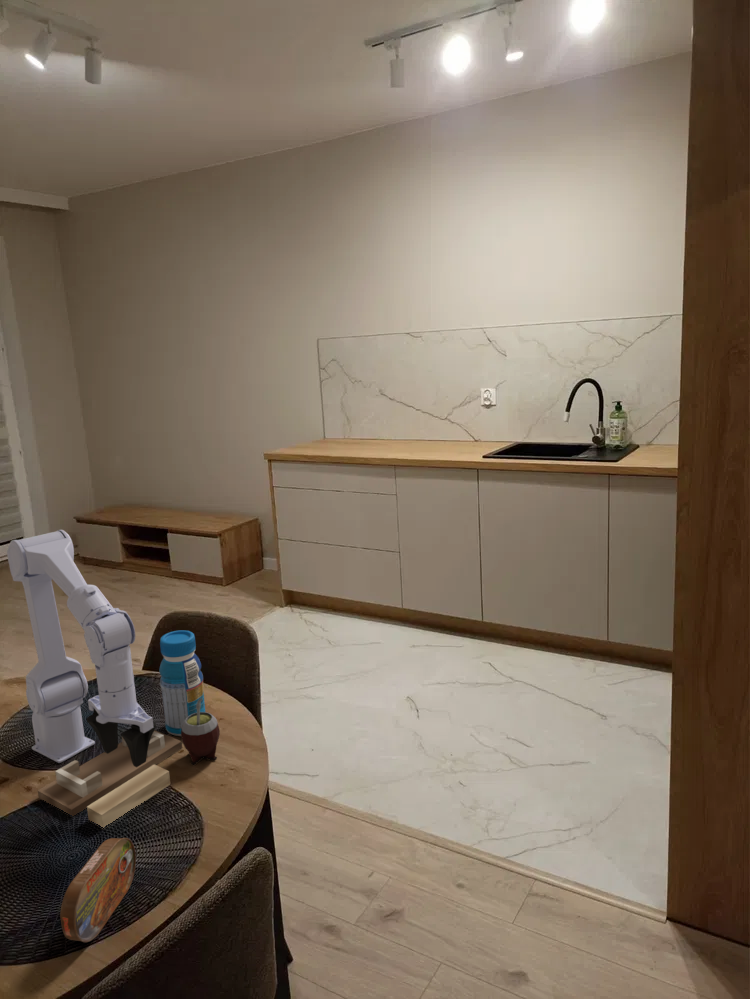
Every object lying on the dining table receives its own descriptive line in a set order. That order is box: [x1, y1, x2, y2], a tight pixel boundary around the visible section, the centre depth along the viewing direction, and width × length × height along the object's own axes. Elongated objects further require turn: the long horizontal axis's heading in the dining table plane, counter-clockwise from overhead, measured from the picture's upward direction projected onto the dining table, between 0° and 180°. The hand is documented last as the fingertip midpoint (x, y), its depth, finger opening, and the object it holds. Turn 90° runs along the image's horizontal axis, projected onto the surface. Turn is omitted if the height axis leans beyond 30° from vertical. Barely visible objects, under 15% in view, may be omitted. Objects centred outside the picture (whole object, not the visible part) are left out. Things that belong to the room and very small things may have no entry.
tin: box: [59, 837, 137, 943], centre depth 102 cm, size 15×3×8 cm, turn 168°
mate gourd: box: [180, 698, 221, 766], centre depth 137 cm, size 8×8×15 cm
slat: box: [86, 764, 171, 829], centre depth 126 cm, size 4×14×3 cm, turn 146°
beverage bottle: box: [159, 629, 206, 737], centre depth 147 cm, size 8×8×20 cm
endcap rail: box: [37, 729, 183, 817], centre depth 135 cm, size 10×24×4 cm, turn 146°
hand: (125, 757), depth 124 cm, fingers open, 7 cm apart
